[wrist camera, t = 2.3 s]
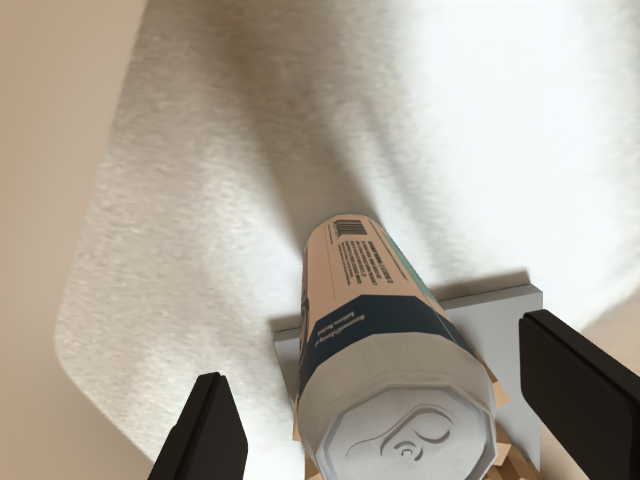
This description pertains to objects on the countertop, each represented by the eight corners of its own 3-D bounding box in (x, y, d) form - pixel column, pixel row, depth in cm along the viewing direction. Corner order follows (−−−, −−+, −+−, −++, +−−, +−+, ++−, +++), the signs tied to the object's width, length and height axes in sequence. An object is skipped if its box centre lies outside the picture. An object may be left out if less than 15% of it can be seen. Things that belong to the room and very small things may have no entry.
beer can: (285, 261, 19) (250, 473, 7) (341, 192, 18) (399, 318, 6) (353, 307, 20) (413, 556, 8) (409, 245, 19) (565, 437, 7)
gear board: (275, 332, 20) (273, 342, 19) (531, 283, 20) (542, 291, 19) (331, 532, 26) (332, 547, 25) (530, 498, 25) (539, 513, 24)
